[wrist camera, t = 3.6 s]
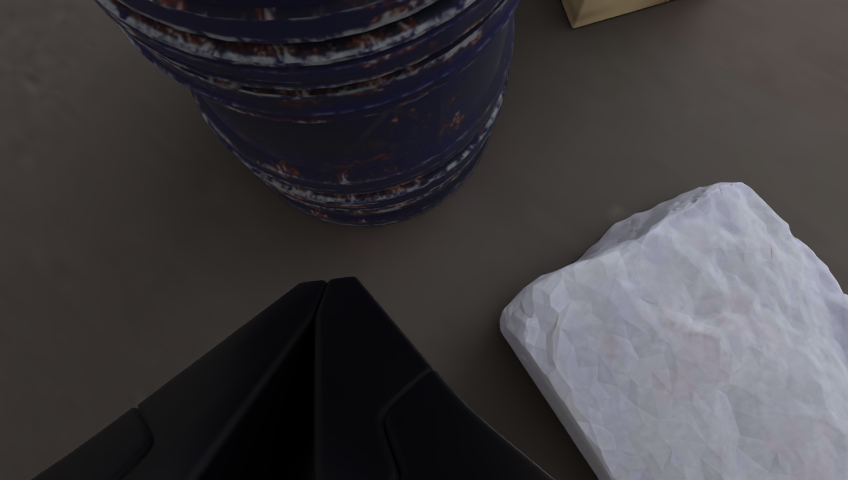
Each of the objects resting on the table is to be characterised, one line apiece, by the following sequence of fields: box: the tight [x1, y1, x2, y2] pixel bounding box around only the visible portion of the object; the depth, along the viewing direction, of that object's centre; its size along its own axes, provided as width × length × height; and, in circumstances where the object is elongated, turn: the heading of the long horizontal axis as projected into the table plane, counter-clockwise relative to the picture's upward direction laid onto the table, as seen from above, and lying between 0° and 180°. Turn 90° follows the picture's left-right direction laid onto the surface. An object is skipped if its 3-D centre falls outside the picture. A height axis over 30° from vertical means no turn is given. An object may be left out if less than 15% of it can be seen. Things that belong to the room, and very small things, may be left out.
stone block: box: [500, 182, 848, 480], centre depth 20 cm, size 12×5×10 cm
